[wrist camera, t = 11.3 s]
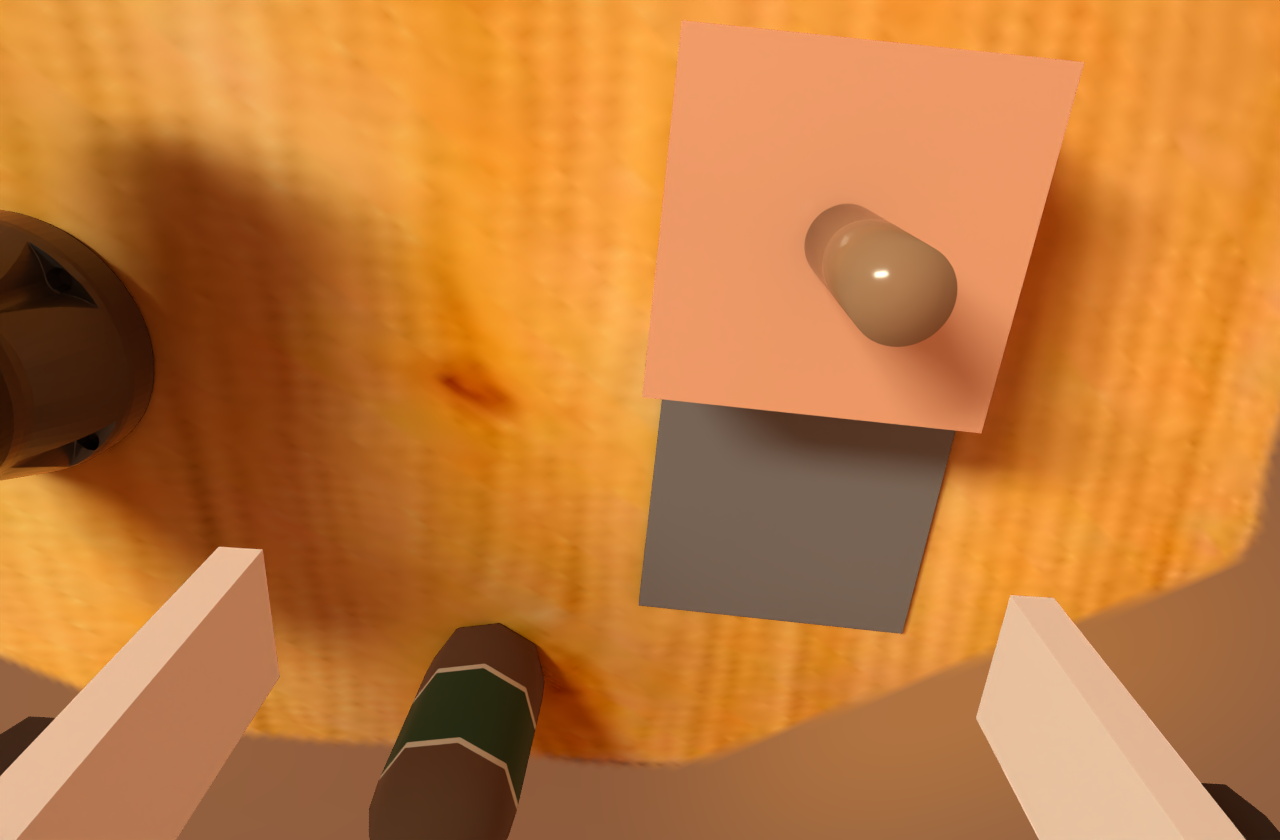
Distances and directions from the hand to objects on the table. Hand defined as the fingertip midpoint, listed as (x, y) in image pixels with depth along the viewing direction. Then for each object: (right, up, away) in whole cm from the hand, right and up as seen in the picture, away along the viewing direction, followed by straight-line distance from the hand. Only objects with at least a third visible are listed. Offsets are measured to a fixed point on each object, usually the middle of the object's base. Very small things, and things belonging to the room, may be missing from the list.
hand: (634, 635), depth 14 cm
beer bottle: (-10, -13, +41) cm, 44 cm away
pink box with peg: (+9, +15, +28) cm, 33 cm away
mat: (+9, -1, +35) cm, 36 cm away
